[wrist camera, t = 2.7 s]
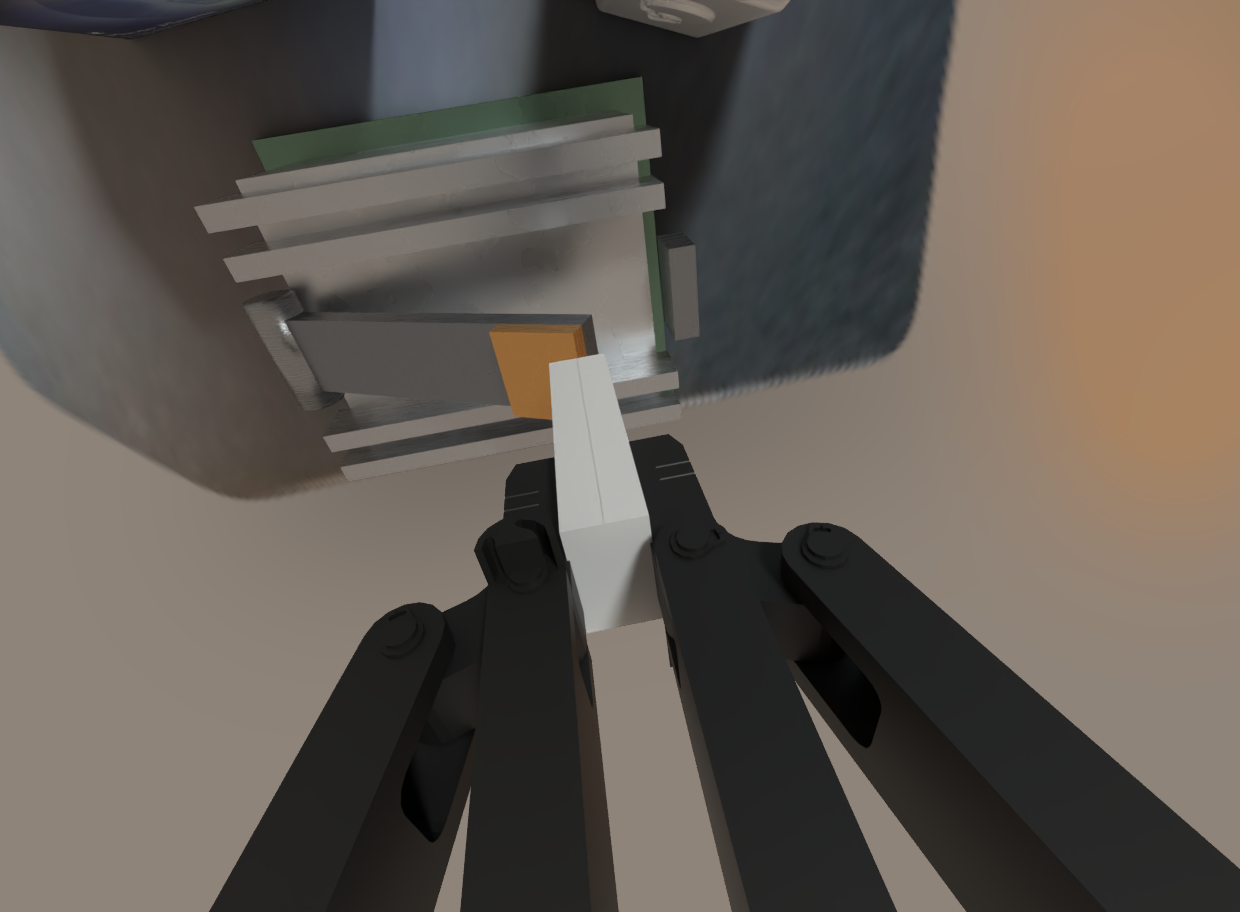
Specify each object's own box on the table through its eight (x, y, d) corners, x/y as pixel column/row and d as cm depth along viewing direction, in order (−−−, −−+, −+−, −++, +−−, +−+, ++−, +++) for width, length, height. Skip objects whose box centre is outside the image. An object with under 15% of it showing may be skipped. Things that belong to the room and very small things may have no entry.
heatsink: (257, 139, 23) (131, 161, 16) (639, 76, 23) (687, 70, 16) (384, 412, 31) (339, 509, 24) (665, 361, 31) (703, 440, 24)
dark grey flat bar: (321, 387, 23) (287, 410, 22) (269, 289, 21) (227, 308, 19) (614, 410, 18) (593, 441, 17) (594, 285, 16) (568, 309, 14)
